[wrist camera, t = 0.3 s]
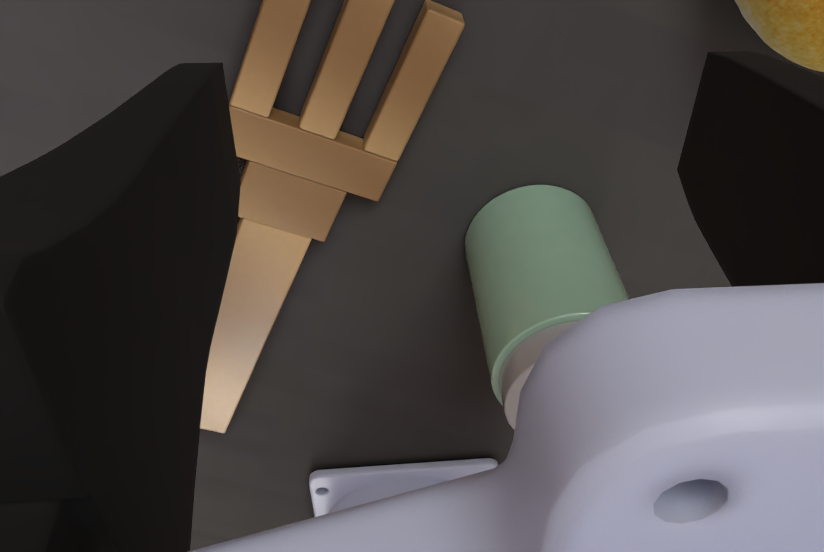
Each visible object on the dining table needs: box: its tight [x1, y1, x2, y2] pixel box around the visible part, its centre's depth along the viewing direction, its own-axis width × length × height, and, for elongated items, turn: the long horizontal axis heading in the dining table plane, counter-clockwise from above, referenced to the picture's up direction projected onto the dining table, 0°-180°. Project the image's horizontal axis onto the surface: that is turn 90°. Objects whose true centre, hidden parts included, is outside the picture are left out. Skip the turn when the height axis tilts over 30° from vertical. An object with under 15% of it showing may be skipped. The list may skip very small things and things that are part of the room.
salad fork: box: [200, 0, 465, 433], centre depth 25 cm, size 18×5×1 cm, turn 156°
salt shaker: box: [465, 185, 629, 430], centre depth 24 cm, size 4×4×7 cm
